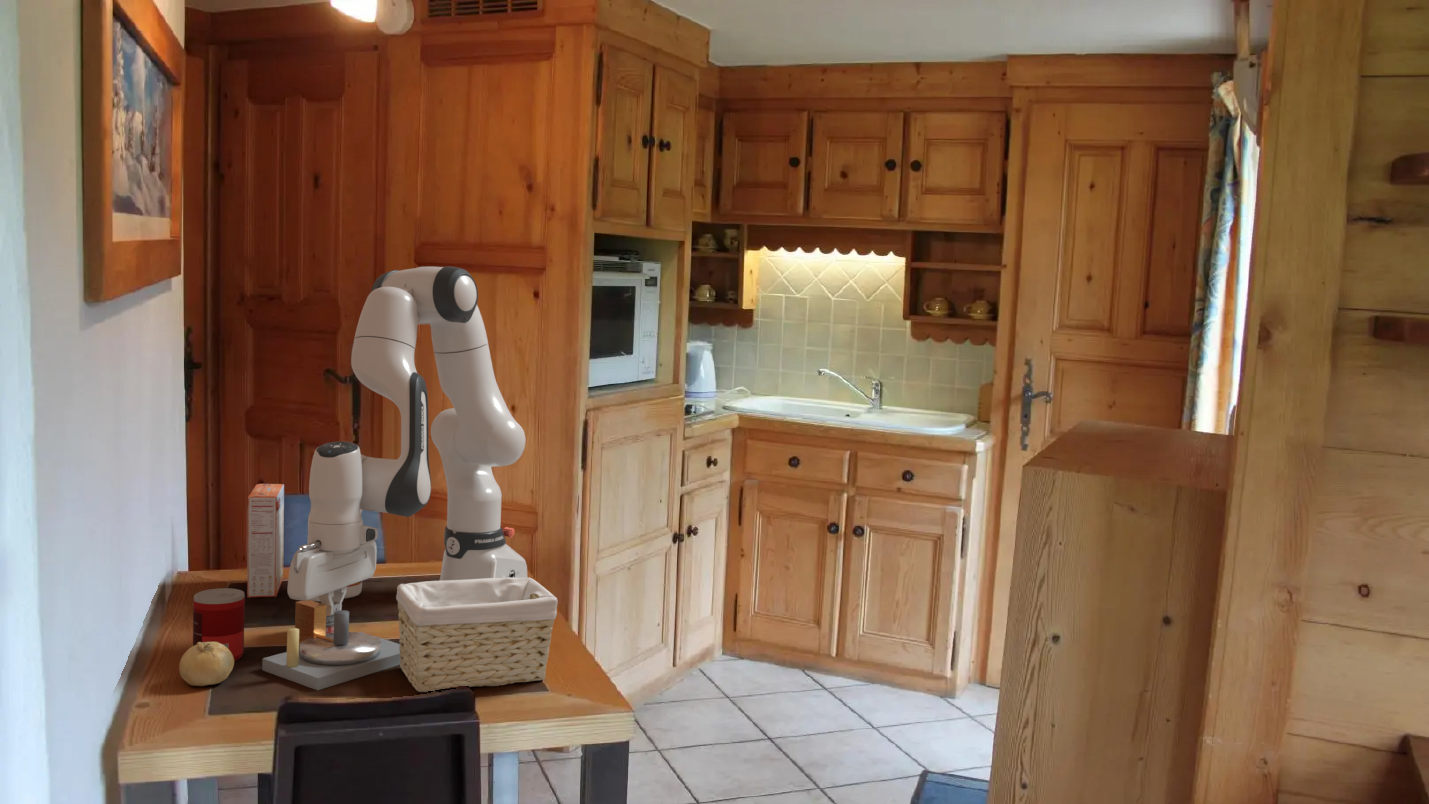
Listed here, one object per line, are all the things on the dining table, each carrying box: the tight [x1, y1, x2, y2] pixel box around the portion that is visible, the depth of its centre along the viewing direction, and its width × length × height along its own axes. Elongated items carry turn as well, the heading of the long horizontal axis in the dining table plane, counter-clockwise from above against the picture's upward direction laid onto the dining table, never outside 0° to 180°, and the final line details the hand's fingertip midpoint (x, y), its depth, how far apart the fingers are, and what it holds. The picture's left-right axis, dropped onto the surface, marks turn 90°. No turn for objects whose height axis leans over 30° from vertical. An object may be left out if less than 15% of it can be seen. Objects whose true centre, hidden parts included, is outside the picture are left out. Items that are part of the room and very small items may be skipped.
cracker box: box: [246, 483, 285, 599], centre depth 232 cm, size 14×6×21 cm, turn 15°
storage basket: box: [395, 576, 558, 693], centre depth 188 cm, size 24×16×15 cm
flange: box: [294, 600, 381, 665], centre depth 190 cm, size 13×17×7 cm
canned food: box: [192, 587, 246, 662], centre depth 189 cm, size 8×8×11 cm
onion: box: [178, 642, 235, 687], centre depth 178 cm, size 8×8×7 cm
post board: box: [261, 609, 400, 691], centre depth 189 cm, size 20×14×9 cm
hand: (332, 613), depth 197 cm, fingers closed
